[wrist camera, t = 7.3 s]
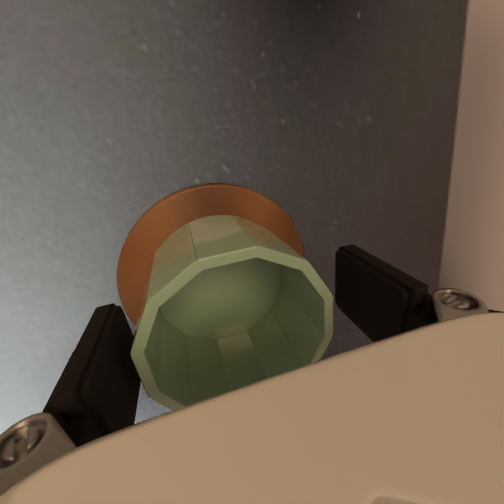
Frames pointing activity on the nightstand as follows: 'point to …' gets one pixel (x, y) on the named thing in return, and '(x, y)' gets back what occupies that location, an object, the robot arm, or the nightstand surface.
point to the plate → (182, 212)
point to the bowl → (226, 311)
